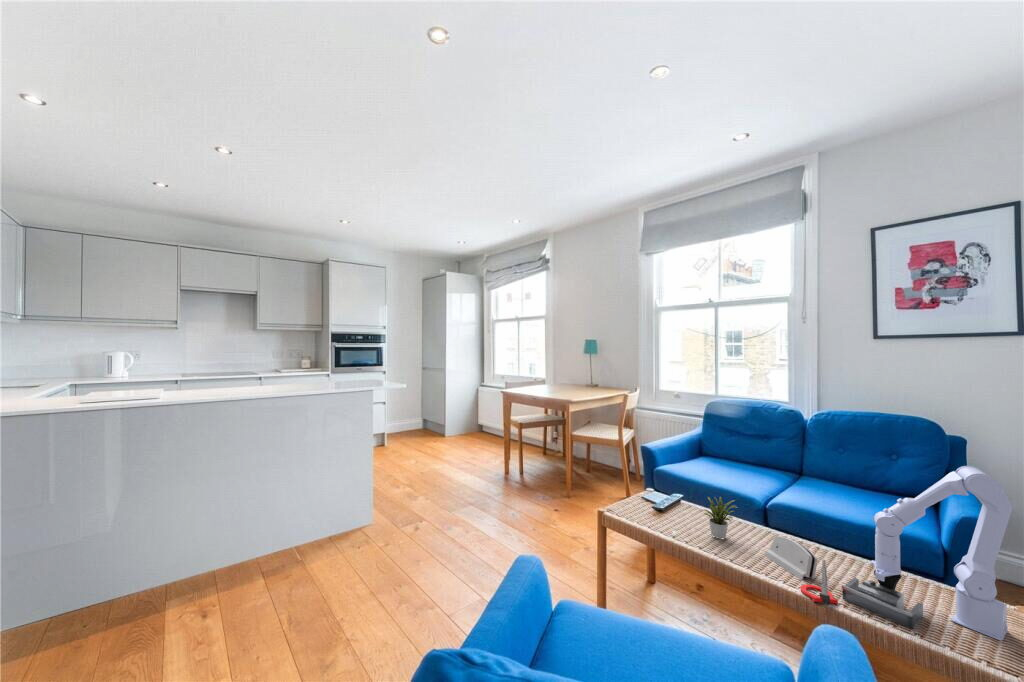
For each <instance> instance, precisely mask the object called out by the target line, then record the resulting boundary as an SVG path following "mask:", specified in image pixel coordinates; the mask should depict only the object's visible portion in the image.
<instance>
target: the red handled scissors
mask: <svg viewBox="0 0 1024 682" xmlns="http://www.w3.org/2000/svg"><path fill="white" fill-rule="evenodd" d="M821 563H822V566H821V586H817V585H815V584H802V585H801V586H800V592H801V593H802V594H804V595H805V596H806V597H808V598H810V599H811V600H812V602H813V603H821V604H827V605H831V604H832V605H833V604H834V605H838V604H839V602H838V601H839V600H838V599H837V598H835V597H834V595H833V593H832V592H830V591H829V590H828V581H827V580H828V579H827V578H828V575H827V572H828V571H827V566H826V560H825V559H822V562H821ZM808 590H814V591H818V592H819V596H818V595H817V594H816V595H815V594H813V593H811V592H809V591H808Z"/></svg>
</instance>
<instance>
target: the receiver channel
mask: <svg viewBox="0 0 1024 682" xmlns="http://www.w3.org/2000/svg"><path fill="white" fill-rule="evenodd" d="M859 581H860V580H859V578H857V577H854V578H852V579H851V580H850V581H849V582H847V583H846V584H845V585H843V584H842V585H841V589H842V600H844V601H847V602H849V603H852V604H853V605H856V606H858V607H860V608H864V609H865V610H868V611H870V612H873V613H875V614H877V615H879V616H882V617H884V618H886V619H887V620H888V619H889V620H891V621H893V622H896V623H898V624H901V625H902V626H904V627H907V628H909V629H912V630H913V629H914V628H915V626H916V625H917V624H918V623H919V622H920V621H921V620H922V619H923V617H924V604H923V603H920V602H919V601H918V602H917V603H916V605H915V606H913V608H912V609H911V610H910V611H907V610H905V609H904V610H902V609H900V608H898V607H895V606H893V605H890V604H888V603H885V602H883V601H880V600H878V599H876V598H873V597H871V596H868V595H866V594H863V593H861V592H859V591H858V586H859V585H860V583H859Z"/></svg>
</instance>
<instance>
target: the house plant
mask: <svg viewBox="0 0 1024 682" xmlns="http://www.w3.org/2000/svg"><path fill="white" fill-rule="evenodd" d="M707 499H708V500H709V502H710V505H709V509H710V511H709V510H708V509H706V508H705V509H704V508H703V509H704V511H706V512H704V513H703V515H705V516H708V517H710V518H709V520H708V522H709V527H710V534H712V535H713V536H715V537H718V538H725V537H727V531H728V526H729V522H728V521H730V522H732V520H733V516H731V515H729V514H731V513H732V512H734V510H731V511H730V509H731V508H735V509H736V508H739V507H738V506H737V505H734V504H733V505H730V504H732V502H736V501H737V500H730V501H728V502H727V503H723V499H722V496H719V500H718V499H717V497H714V499H715V500H716V505H715V502H714V501H713V499H711V497H710V496H707ZM729 505H730V506H729ZM727 507H728V508H727ZM712 535H711V536H712ZM725 539H726V538H725Z"/></svg>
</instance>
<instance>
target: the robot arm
mask: <svg viewBox="0 0 1024 682" xmlns="http://www.w3.org/2000/svg"><path fill="white" fill-rule="evenodd" d="M968 492H969V493H971V494H972V495H974V496H975V497H976V498H977V499H978V501H979V502H981V504H982V505H981V509H980V512H979V515H978V517H977V518H978V519H977V522H976V525H975V528H974V532H973V534H972V539H971V541H970V544H969V547H968V551H967V554H965V555H964V556H962V558H961V560H960V562H959V563H957V564H956V565H955V566H953V574H954V576H955V577H956V579H958V583H956V585H955V613H954V615H953V616H952V617H951V619H950V621H951V622H953V623H956V624H958V625H959V626H960V625H961V626H963V627H965V628H967V629H971V630H973V631H975V632H978V633H980V634H983V635H985V636H988V637H990V638H992V639H996V640H998V641H1001V642H1002V641H1003V640H1004V638H1005V636H1006V634H1007V633H1008V617H1007V616H1008V613H1007V612H1008V609H1007V603H1005V602H1002V601H1000V600H998V599H997V598H996V597H997V594H998V589H997V586H996V580H997V576H996V572H995V565H996V561H997V558H998V557H999V553H1000V550H1001V549H1000V548H1001V545H1002V542H1003V540H1004V536H1005V533H1006V530H1007V527H1008V525H1009V520H1010V518H1011V514H1012V510H1013V506H1012V504H1011V502H1010V499H1008V496H1007V495H1006V493H1005V491H1004V487H1003V486H1002V485H1001V484H1000V483H999V482H998V481H997V480H995V479H994V478H993V477H992V476H990V475H988V474H986V473H985V472H984V471H983V470H981V469H980V468H978V467H977V466H973V465H972V466H971V465H963V466H960V467H958V468H957V469H956V470H953V471H951V472H949V473H948V474H946V475H945V476H944V477H943V478H941V479H940V480H938V481H937V482H935V483H934V484H933V485H931V486H929V487H928V488H927V489H926V490H924V491H923V492H921V493H920V494H919V495H917V496H915V497H914V498H913V497H904V498H901V497H900V498H898V499H897V500H896V501H897V502H896V503H895V504H893V505H892V506H890V507H888V508H886V507H885V508H884V509H882V511H881V510H880V511H878V512H877V513H875V514H874V516H873V517H872V520H873V522H874V524H875V534H874V544H875V545H874V550H875V551H874V556H875V557H874V558H875V559H874V560H873V559H872V560H871V561H870V562H869V563H870V564H871V565H872V566H874V569H875V570H874V571H873V575H874V579H876V580H877V583H878V584H879V585H882V586H885V587H887V588H890V589H892V590H895V591H896V588H897V586H898V583H899V581H900V579H902V578H903V577H902V575H901V574H902V569H901V540H900V535H901V534H902V533H903V531H904V530H903V529H904V528H905V527H907V526H909V525H911V524H913V523H914V522H916V521H917V520H919V519H921V518H923V517H924V516H925V515H926V509H928V508H929V507H931V506H933V505H935V504H937V503H938V502H940V501H943V500H944V499H947V498H949V497H950V496H952V495H958V496H959V495H960V496H969V493H968Z"/></svg>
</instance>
